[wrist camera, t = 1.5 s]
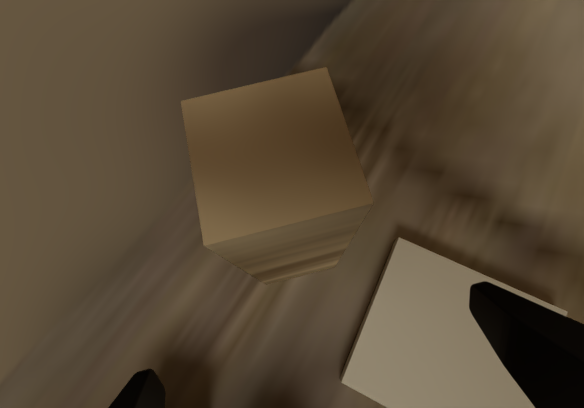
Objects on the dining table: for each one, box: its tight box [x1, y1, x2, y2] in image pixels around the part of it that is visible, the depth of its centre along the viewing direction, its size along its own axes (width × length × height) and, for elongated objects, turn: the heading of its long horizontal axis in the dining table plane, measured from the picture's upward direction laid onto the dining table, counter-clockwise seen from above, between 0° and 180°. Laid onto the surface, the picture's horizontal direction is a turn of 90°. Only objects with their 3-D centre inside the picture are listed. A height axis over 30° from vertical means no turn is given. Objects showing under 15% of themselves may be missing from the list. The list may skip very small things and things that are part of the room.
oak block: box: [181, 67, 374, 285], centre depth 15 cm, size 4×4×13 cm
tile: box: [340, 237, 567, 408], centre depth 18 cm, size 10×9×1 cm
